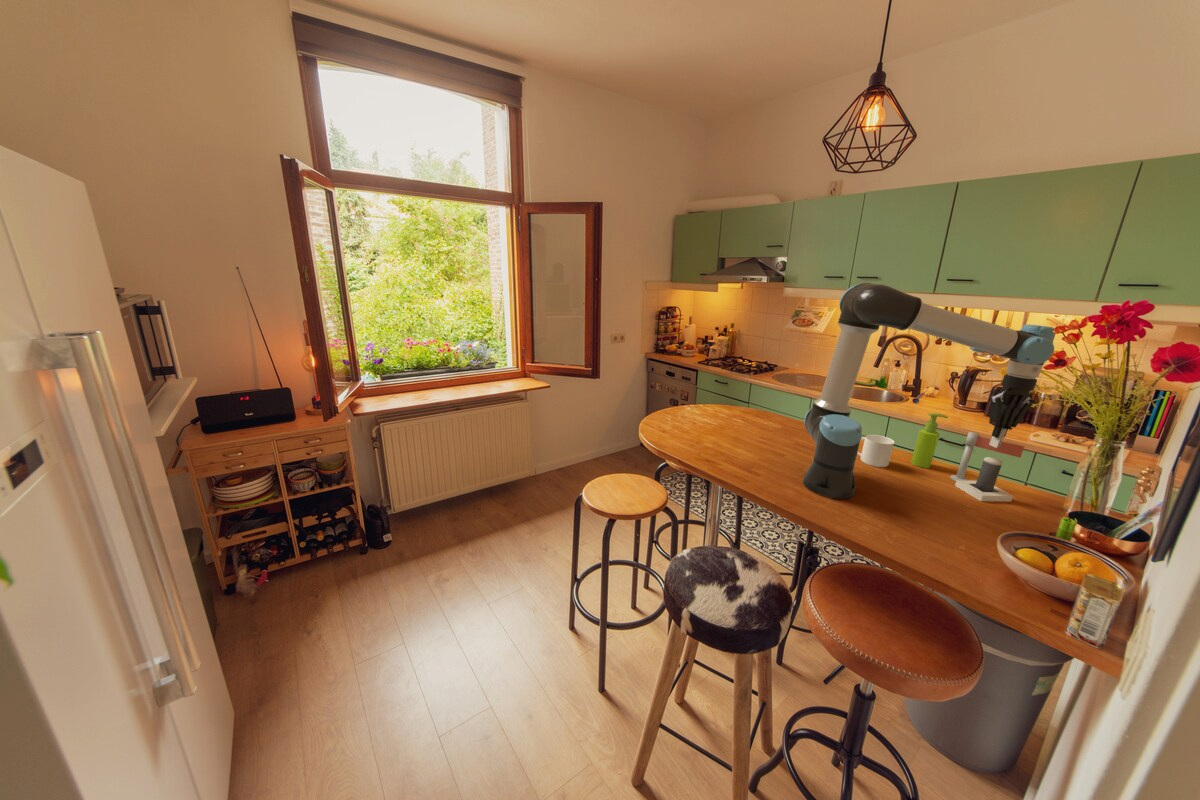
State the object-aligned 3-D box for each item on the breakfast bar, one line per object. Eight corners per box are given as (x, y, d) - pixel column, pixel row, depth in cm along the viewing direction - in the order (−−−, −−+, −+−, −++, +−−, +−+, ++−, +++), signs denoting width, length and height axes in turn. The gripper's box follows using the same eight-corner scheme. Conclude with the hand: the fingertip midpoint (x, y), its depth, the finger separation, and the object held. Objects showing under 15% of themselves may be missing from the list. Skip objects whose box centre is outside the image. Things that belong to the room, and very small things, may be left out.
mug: (893, 464, 159) (899, 441, 157) (880, 469, 155) (886, 445, 152) (860, 452, 169) (865, 430, 166) (847, 457, 165) (852, 434, 162)
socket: (980, 501, 135) (993, 463, 131) (941, 477, 150) (951, 443, 146) (1011, 501, 136) (1024, 464, 132) (968, 477, 151) (979, 443, 147)
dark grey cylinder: (981, 496, 138) (992, 463, 134) (969, 490, 142) (980, 457, 138) (994, 496, 138) (1006, 463, 134) (982, 490, 142) (993, 457, 139)
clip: (1020, 458, 135) (1024, 446, 134) (964, 444, 145) (967, 433, 144) (1021, 456, 137) (1025, 444, 135) (965, 442, 147) (969, 431, 145)
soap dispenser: (936, 469, 157) (951, 417, 151) (915, 467, 158) (929, 415, 152) (928, 462, 162) (942, 412, 156) (908, 460, 163) (921, 410, 157)
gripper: (1013, 377, 128) (986, 450, 135) (1053, 380, 128) (1023, 452, 135) (990, 371, 135) (966, 440, 142) (1028, 374, 136) (1001, 442, 143)
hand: (994, 446), depth 139 cm, fingers closed
